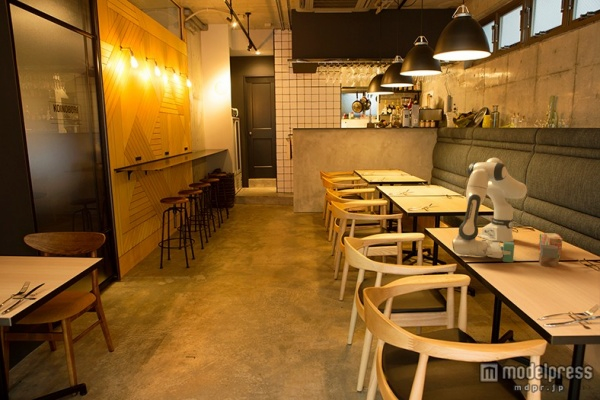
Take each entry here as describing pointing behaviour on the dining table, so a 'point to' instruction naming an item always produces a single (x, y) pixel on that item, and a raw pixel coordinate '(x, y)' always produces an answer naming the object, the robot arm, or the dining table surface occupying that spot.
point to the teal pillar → (508, 247)
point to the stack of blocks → (551, 241)
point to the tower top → (549, 251)
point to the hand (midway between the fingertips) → (510, 251)
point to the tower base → (548, 261)
